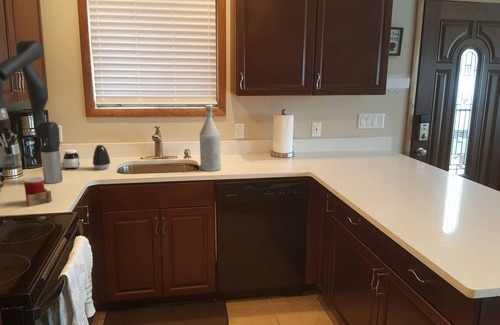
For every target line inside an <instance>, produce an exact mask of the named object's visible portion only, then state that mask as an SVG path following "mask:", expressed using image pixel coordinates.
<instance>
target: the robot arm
mask: <svg viewBox="0 0 500 325" xmlns="http://www.w3.org/2000/svg"><path fill="white" fill-rule="evenodd" d="M15 49H16V53H17V54H16V55H14V56H12V57H9V58H6V59H4V60H3V61H0V147H3V149H4V152H5V154H6V155H7V156H8V155H9V156H10V155H12V154H13V153H14V152H13V148H12V146H13V145H15V143H16V141H17V138H18V136H19V135H18V134H17V133H16V134H15V133H14V132H13V131H12V127H11V126H12V124H11V121H10V118H9V114H8V111H7V108H6V105H5V101H4V83H3V82H5V81H7V80H8V79H9V78H11V77H13V75H14V74H15V73H17V72H18V71H20V70H21V69H22V73H23V77H24V78H23V79H24V82H25V85H26V91H27V95H28V99H29V104H30V108H31V114H32V122H33V130H34V133H35V136H36V137H37V138H38V139H41V140H44V139H45V140H47V143H46V144H43V145H41V146H40V147H39V148H40V156H41V157H40V158H41V164H42V165H41V166H42V174H43V181H44V184H57V183H60V182H62V181H63V172H62V171H63V169H62V165H61V161H62V160H61V152H60V146H61V142H60V139H61V138H60V127H59V125H58V123H56V122H55V121H46V120H45V118H44V110H45V108H46V105H47V103H48V100H49V93H48V88H47V84H46V82H45V80H44V79H43V78H42V77H41V75H40V74H39V73H38V72H37V70H36V68H35V65H34V62H36V61H38V60H40V59H41V58H42V57H43V56H44V52H45V50H44V46H43V44H42V43H41V42H40V41H36V40H19V41H18V42H17V43H16V48H15Z"/></svg>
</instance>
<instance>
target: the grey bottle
mask: <svg viewBox="0 0 500 325" xmlns="http://www.w3.org/2000/svg"><path fill="white" fill-rule="evenodd" d="M204 109H206V111H205V113H204V115H203V118H204V119H205V122H204V123H203V126H202V128H201V130H200V132H199V133H198V134H199V152H200V155H199V156H200V159H199V160H200V170H202V171H205V172H215V171H216V172H217V171H220V170H221V169H222V167H221V166H222V165H221V164H222V163H221V133H220V131H219V130H218V127H217V126H216V123H215V122H214V119H213V118H215V116H216V114H215V113H213V110H215V107H214V105H213V104H207V105H205V107H204Z"/></svg>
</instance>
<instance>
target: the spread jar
mask: <svg viewBox="0 0 500 325" xmlns="http://www.w3.org/2000/svg"><path fill="white" fill-rule="evenodd" d="M77 152H78V151H77V149H65V150H64V155H63V158H62V160H60V161H61V167H64V169H65V170H67V169H74V170H77V168H78V169H79V168H80V165H81V163H80V156H79V153H77Z"/></svg>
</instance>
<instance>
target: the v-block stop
mask: <svg viewBox="0 0 500 325" xmlns="http://www.w3.org/2000/svg"><path fill="white" fill-rule="evenodd" d="M44 190H45V192H43V193H38V194H32V195H27V197H28V203H27V205H28V207H34V206H37V205H38V206H39V205H43V204H49V203H51V202H52V201H53V199H52V191H51V190H48V189H46V188H45V187H44Z"/></svg>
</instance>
